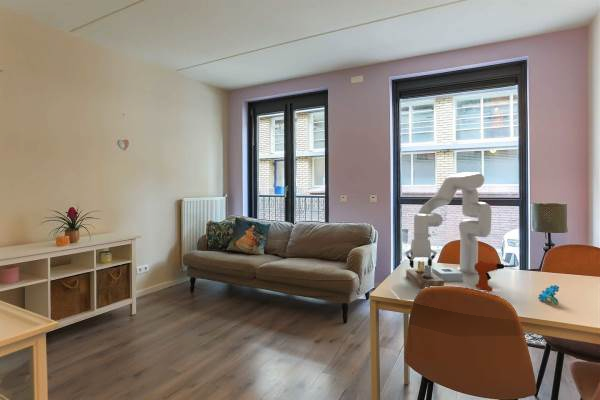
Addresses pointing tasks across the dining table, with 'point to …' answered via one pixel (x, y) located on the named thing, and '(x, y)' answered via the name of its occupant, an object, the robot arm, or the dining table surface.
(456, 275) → the socket block
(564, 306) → the dining table surface
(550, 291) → the blue flower bunch
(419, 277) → the bit rack
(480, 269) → the toy drill
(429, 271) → the steel drill bit
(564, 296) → the dining table surface
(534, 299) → the dining table surface
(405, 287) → the dining table surface
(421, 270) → the gold drill bit
